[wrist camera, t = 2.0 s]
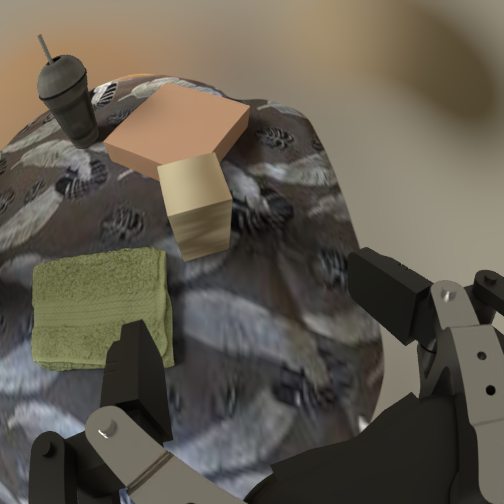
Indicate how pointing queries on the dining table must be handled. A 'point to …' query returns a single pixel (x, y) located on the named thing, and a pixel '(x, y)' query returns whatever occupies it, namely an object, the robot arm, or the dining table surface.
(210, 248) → the birch block
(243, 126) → the terracotta plinth
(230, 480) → the dining table surface
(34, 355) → the washcloth
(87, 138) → the beverage cup
